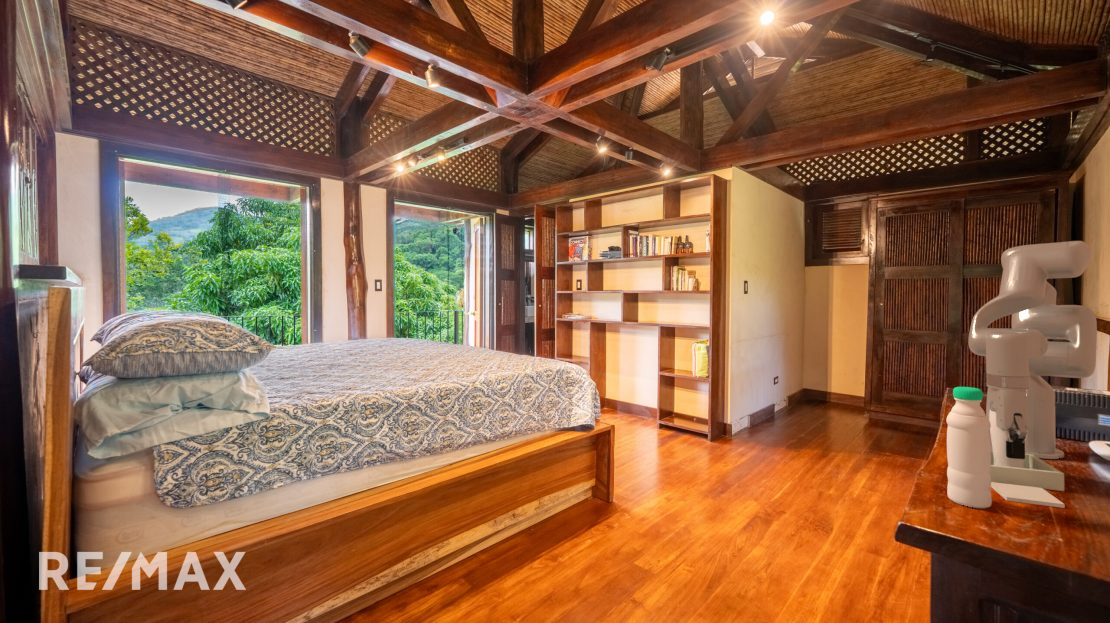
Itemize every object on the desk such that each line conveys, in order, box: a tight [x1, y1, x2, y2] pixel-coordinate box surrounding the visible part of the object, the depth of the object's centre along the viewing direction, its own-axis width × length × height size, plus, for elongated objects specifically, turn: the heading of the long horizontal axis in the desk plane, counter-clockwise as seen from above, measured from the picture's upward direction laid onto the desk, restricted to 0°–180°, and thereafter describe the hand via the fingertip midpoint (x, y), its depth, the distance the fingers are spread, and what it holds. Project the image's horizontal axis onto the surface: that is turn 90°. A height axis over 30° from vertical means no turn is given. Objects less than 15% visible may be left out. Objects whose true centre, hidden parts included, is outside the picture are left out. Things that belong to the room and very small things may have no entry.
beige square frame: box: [990, 449, 1065, 492], centre depth 110 cm, size 14×14×4 cm
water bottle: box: [946, 386, 993, 509], centre depth 96 cm, size 7×7×25 cm
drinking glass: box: [989, 410, 1028, 468], centre depth 110 cm, size 7×7×15 cm
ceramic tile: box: [990, 482, 1066, 509], centre depth 99 cm, size 9×9×1 cm
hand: (1008, 452), depth 110 cm, fingers closed on drinking glass, 6 cm apart
